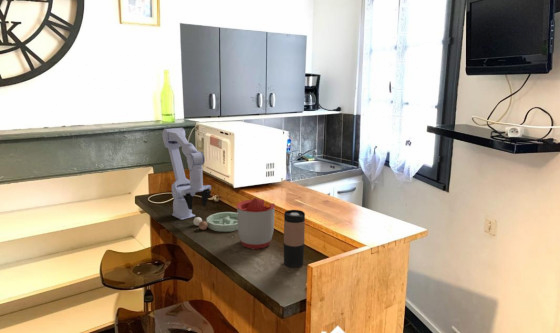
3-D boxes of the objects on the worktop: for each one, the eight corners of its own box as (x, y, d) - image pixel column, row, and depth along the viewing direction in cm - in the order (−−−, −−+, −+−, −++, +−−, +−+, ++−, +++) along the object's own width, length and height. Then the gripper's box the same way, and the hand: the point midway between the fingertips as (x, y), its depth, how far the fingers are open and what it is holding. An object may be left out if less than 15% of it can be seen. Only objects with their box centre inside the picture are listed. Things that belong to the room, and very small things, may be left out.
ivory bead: (191, 225, 189) (191, 217, 188) (199, 223, 191) (198, 215, 190) (196, 227, 186) (196, 219, 185) (203, 225, 189) (203, 217, 188)
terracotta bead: (197, 229, 184) (196, 221, 183) (204, 227, 186) (204, 219, 186) (202, 231, 181) (201, 223, 180) (209, 229, 184) (209, 221, 183)
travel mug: (282, 259, 155) (283, 209, 151) (302, 258, 156) (303, 209, 151) (284, 268, 148) (285, 216, 143) (305, 268, 148) (306, 216, 144)
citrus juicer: (285, 242, 170) (286, 197, 166) (254, 255, 158) (254, 206, 154) (260, 232, 181) (260, 189, 177) (229, 243, 169) (228, 197, 165)
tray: (199, 224, 190) (199, 218, 190) (230, 215, 203) (230, 209, 202) (222, 235, 178) (222, 228, 177) (253, 224, 190) (253, 218, 189)
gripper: (187, 183, 176) (188, 212, 179) (214, 177, 186) (215, 205, 189) (178, 180, 181) (179, 209, 184) (205, 174, 191) (206, 202, 194)
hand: (197, 207), depth 187 cm, fingers open, 7 cm apart
